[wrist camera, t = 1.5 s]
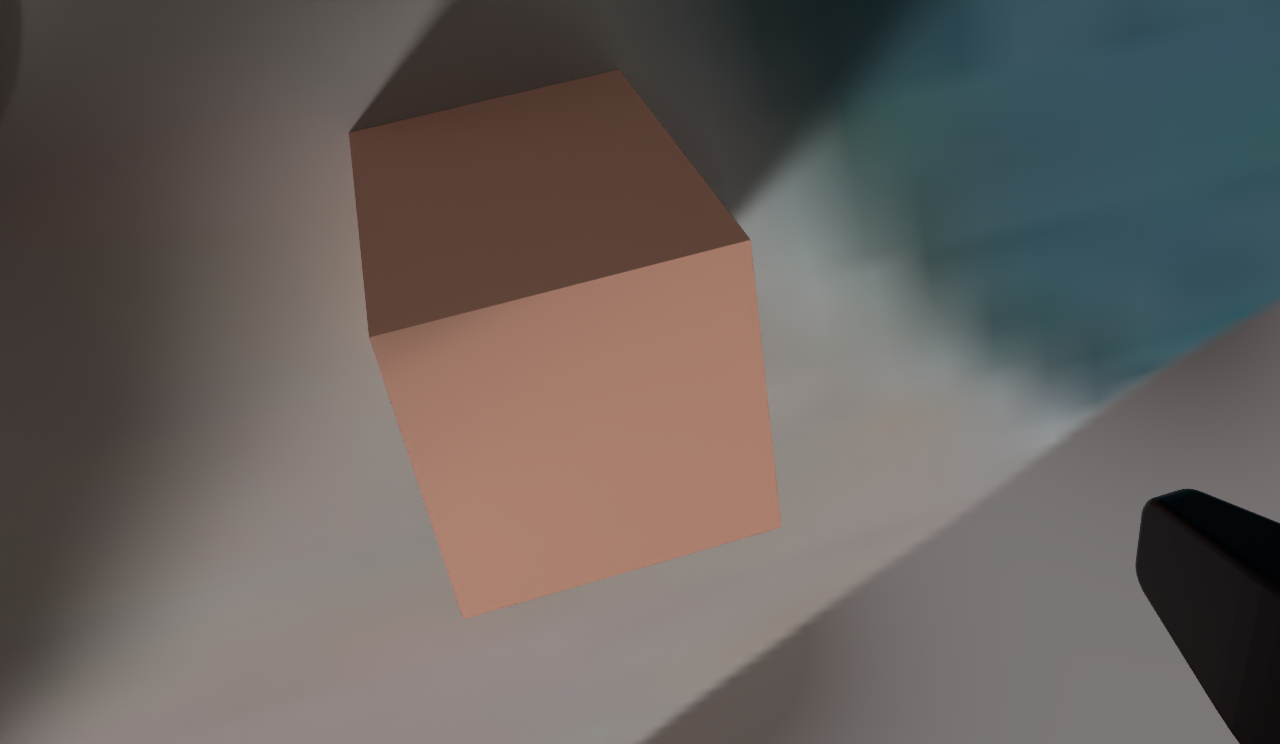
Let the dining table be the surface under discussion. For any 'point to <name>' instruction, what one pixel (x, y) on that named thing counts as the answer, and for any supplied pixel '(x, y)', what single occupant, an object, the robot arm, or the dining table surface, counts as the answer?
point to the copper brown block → (563, 338)
